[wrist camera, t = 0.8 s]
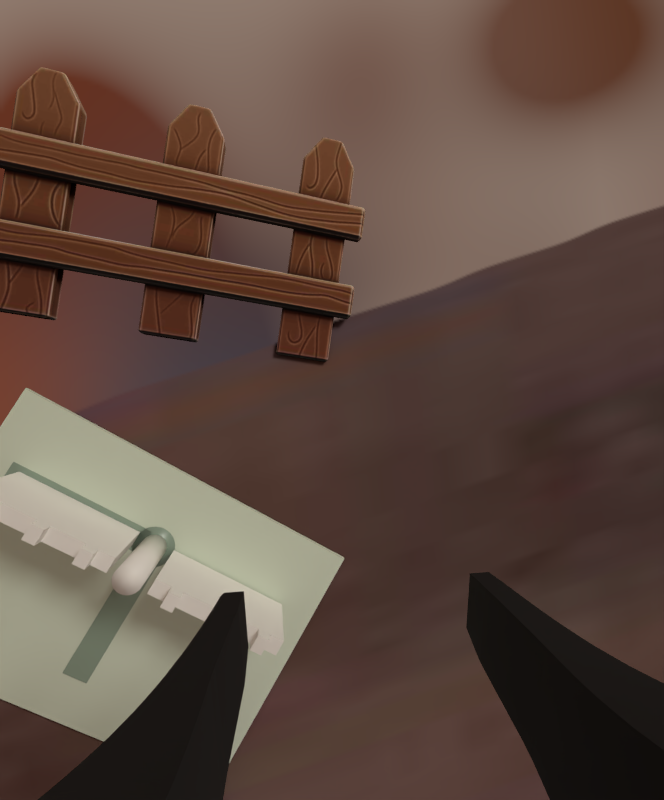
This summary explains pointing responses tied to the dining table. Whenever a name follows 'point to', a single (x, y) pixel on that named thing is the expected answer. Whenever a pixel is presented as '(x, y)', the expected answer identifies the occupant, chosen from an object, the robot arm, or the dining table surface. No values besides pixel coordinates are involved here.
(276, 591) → the card
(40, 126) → the decorative fence
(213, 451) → the dining table surface
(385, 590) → the dining table surface
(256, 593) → the folding fence panel
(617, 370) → the dining table surface
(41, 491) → the fence post and fixed panel
